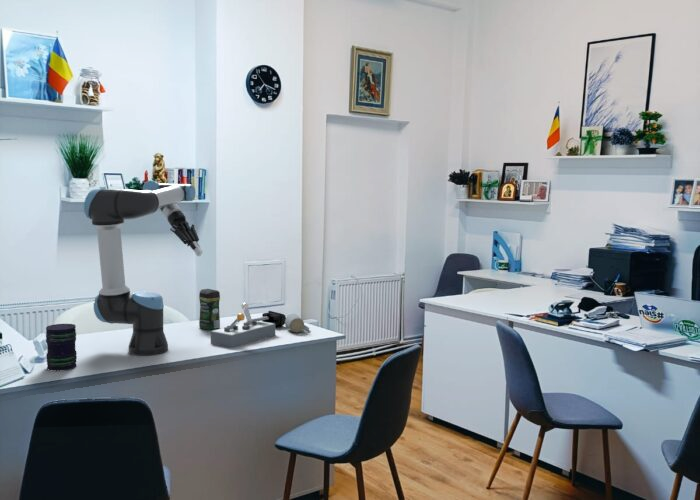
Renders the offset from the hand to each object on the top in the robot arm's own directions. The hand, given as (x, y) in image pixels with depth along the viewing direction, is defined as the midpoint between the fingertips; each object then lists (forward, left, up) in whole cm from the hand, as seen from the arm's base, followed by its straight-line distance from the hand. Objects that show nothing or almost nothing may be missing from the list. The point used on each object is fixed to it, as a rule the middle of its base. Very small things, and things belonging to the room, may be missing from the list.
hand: (200, 254), depth 276 cm
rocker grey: (+27, -3, -29) cm, 40 cm away
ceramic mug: (+44, +3, -36) cm, 57 cm away
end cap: (+33, +15, -36) cm, 51 cm away
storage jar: (-43, -51, -36) cm, 76 cm away
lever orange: (+15, -18, -29) cm, 37 cm away
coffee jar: (+3, +11, -36) cm, 38 cm away
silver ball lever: (+23, -8, -29) cm, 38 cm away
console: (+20, -11, -36) cm, 43 cm away
